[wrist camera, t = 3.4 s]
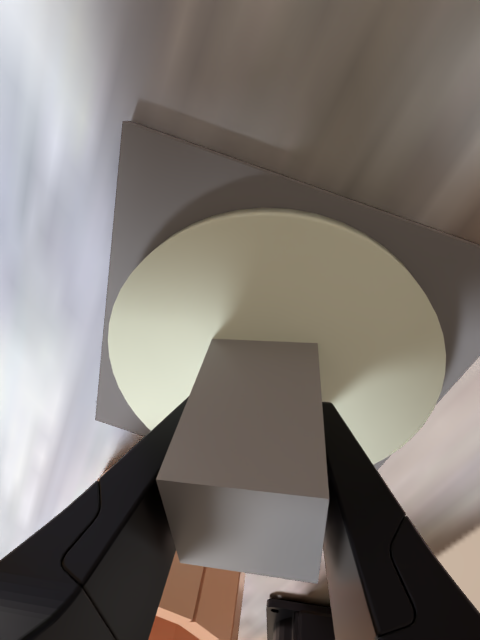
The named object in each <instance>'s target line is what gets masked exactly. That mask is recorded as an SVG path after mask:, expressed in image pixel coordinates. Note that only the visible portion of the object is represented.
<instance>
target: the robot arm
mask: <svg viewBox="0 0 480 640" xmlns="http://www.w3.org/2000/svg"><path fill="white" fill-rule="evenodd" d="M188 398H189V396H188V397H187V398H186V399H185V400H184V401H183V402H182V403H181V404H180V405H179V406H177V407H176V408H175V409H174V410H173V411H172V412H171V413H170V414H169V415H168V416H167V417H165V418H164V419H163V420H162V421H161V422H160V423H159V424H158V425H157V426H156V427H155V428H154V429H152V430H151V431H150V432H149V433H148V434H147V435H146V436H145V437H144V438H143V439H142V440H140V441H139V442H138V443H137V444H136V445H135V446H134V447H133V448H132V449H131V450H130V451H128V452H127V453H126V454H125V455H124V456H123V457H122V458H121V459H120V460H119V461H118V462H117V463H115V464H114V465H113V466H112V467H111V468H110V469H109V470H108V471H107V472H106V473H105V474H103V475H102V476H101V477H100V478H99V481H96V482H95V483H93V484H92V485H91V486H90V487H89V488H88V489H87V490H86V491H85V492H84V493H83V494H81V495H80V496H79V497H78V498H77V499H76V500H75V501H73V502H72V503H71V504H70V505H69V506H68V507H67V508H65V509H64V510H63V511H62V512H61V513H59V514H58V515H57V516H56V517H54V518H53V519H52V520H51V521H49V522H48V523H47V524H46V525H45V526H43V527H42V528H41V529H40V530H38V531H37V532H36V533H34V534H33V535H32V536H31V537H29V538H28V539H27V540H25V541H24V542H23V543H22V544H20V545H19V546H18V547H17V548H15V549H14V550H13V551H11V552H10V553H9V554H8V555H6V556H5V557H4V558H3V559H1V560H0V640H148V639H149V636H150V633H151V629H152V626H153V623H154V620H155V616H156V613H157V610H158V607H159V604H160V600H161V597H162V594H163V591H164V587H165V584H166V581H167V578H168V575H169V571H170V568H171V565H172V562H173V558H174V555H175V552H176V547H175V544H174V540H173V537H172V533H171V530H170V527H169V523H168V520H167V516H166V513H165V509H164V506H163V502H162V499H161V495H160V492H159V489H158V485H157V482H156V478H157V475H158V473H159V470H160V468H161V465H162V463H163V460H164V458H165V455H166V453H167V450H168V448H169V445H170V443H171V440H172V438H173V435H174V433H175V430H176V428H177V425H178V423H179V420H180V418H181V415H182V413H183V410H184V408H185V405H186V403H187V400H188ZM322 408H323V422H324V435H325V448H326V462H327V475H328V488H329V505H328V512H327V519H326V527H325V534H324V541H323V551H324V559H325V566H326V574H327V581H328V589H329V596H330V604H331V608H328V607H322V606H316V605H310V604H303V603H297V602H291V601H285V600H279V599H269V600H267V609H266V610H267V639H268V640H480V613H479V612H478V610H477V609H476V608H475V607H474V605H473V604H472V603H471V602H470V601H469V599H468V598H467V597H466V595H465V594H464V593H463V592H462V591H461V589H460V588H459V587H458V585H457V584H456V583H455V582H454V580H453V579H452V578H451V576H450V575H449V574H448V572H447V571H446V570H445V569H444V567H443V566H442V565H441V563H440V562H439V561H438V560H437V558H436V557H435V555H434V554H433V553H432V551H431V550H430V548H429V547H428V545H427V544H426V543H425V541H424V540H423V538H422V537H421V535H420V534H419V533H418V531H417V530H416V528H415V526H414V525H413V523H412V522H411V520H410V519H409V517H407V516H405V515H406V513H405V512H404V510H403V509H402V507H401V506H400V504H399V503H398V501H397V500H396V498H395V497H394V495H393V494H392V492H391V491H390V489H389V488H388V486H387V485H386V483H385V482H384V480H383V479H382V477H381V476H380V474H379V473H378V471H377V470H376V468H375V467H374V465H373V464H372V462H371V461H370V459H369V458H368V456H367V455H366V453H365V451H364V450H363V448H362V447H361V445H360V444H359V442H358V441H357V439H356V438H355V436H354V435H353V433H352V432H351V430H350V429H349V427H348V426H347V424H346V423H345V421H344V420H343V418H342V417H341V415H340V414H339V412H338V411H337V409H336V408H335V406H334V405H333V404H332V403H331V402H322Z"/></svg>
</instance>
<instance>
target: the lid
mask: <svg viewBox="0 0 480 640" xmlns="http://www.w3.org/2000/svg"><path fill="white" fill-rule="evenodd" d="M108 348H109V358H110V362H111V366H112V370H113V374H114V376H115V379H116V381H117V384H118V387H119V389H120V390H121V392H122V394H123V396H124V398H125V400H126V401H127V403H128V404H129V406H130V407H131V409H132V410H133V411H134V413H135V414H136V415H137V417H138V418H139V419H140V420H141V421H142V422H143V423H144V424H145V426H146V427H147V428H148V429H150V430H152V429H154V428H155V427H156V426H157V425H158V424H159V423H160V422H161V421H162V420H163V419H164V418H165V417H167V416H168V415H169V414H170V413H171V412H172V411H173V410H174V409H175V408H176V407H177V406H179V405H180V404H181V403H182V402H183V401H184V400H185V399H186V398H187V397H188V396H189V398H188V400H187V403H186V405H185V408H184V410H183V413H182V415H181V418H180V420H179V423H178V425H177V428H176V430H175V433H174V435H173V438H172V440H171V443H170V445H169V448H168V450H167V453H166V455H165V458H164V460H163V463H162V465H161V468H160V470H159V473H158V475H157V478H156V482H157V485H158V489H159V492H160V495H161V499H162V502H163V506H164V509H165V513H166V516H167V520H168V523H169V527H170V530H171V533H172V537H173V540H174V544H175V547H176V551H177V554H178V558H179V561H180V563H184V564H190V565H197V566H204V567H210V568H217V569H223V570H230V571H237V572H243V573H250V574H256V575H263V576H269V577H276V578H283V579H289V580H296V581H302V582H309V583H316V584H318V578H319V570H320V563H321V556H322V549H323V541H324V534H325V527H326V519H327V512H328V505H329V488H328V475H327V462H326V448H325V435H324V422H323V408H322V402H331V403H332V404H333V405H334V406H335V408H336V409H337V411H338V412H339V414H340V415H341V417H342V418H343V420H344V421H345V423H346V424H347V426H348V427H349V429H350V430H351V432H352V433H353V435H354V436H355V438H356V439H357V441H358V442H359V444H360V445H361V447H362V448H363V450H364V451H365V453H366V455H367V456H368V458H369V459H370V461H371V462H372V464H373V465H374V464H376V463H378V462H379V461H381V460H383V459H385V458H387V457H388V456H390V455H391V454H393V453H394V452H396V451H397V450H398V449H400V448H401V447H402V446H403V445H404V444H406V443H407V442H408V441H409V440H410V439H411V438H412V437H413V436H414V435H415V434H416V433H417V432H418V431H419V429H420V428H421V427H422V426H423V425H424V423H425V422H426V420H427V419H428V417H429V416H430V414H431V412H432V411H433V409H434V407H435V405H436V403H437V400H438V398H439V396H440V393H441V390H442V385H443V381H444V377H445V367H446V351H445V343H444V336H443V332H442V329H441V326H440V323H439V320H438V317H437V314H436V313H435V311H434V309H433V307H432V305H431V303H430V301H429V300H428V298H427V296H426V294H425V293H424V291H423V290H422V288H421V287H420V286H419V284H418V283H417V281H416V280H415V279H414V278H413V276H412V275H411V274H410V272H409V271H408V270H407V269H406V267H405V266H404V265H403V263H401V262H400V261H399V260H398V259H397V258H396V257H395V256H394V255H393V254H392V253H391V252H390V251H389V250H388V249H386V248H385V247H384V246H383V245H381V244H380V243H378V242H377V241H375V240H374V239H372V238H371V237H369V236H368V235H366V234H365V233H363V232H361V231H359V230H357V229H355V228H353V227H351V226H349V225H347V224H345V223H343V222H340V221H337V220H334V219H331V218H328V217H325V216H322V215H319V214H316V213H310V212H305V211H300V210H294V209H284V208H253V209H242V210H235V211H231V212H227V213H222V214H218V215H214V216H211V217H209V218H206V219H203V220H201V221H198V222H196V223H193V224H191V225H189V226H187V227H186V228H184V229H182V230H180V231H179V232H177V233H175V234H173V235H172V236H171V237H169V238H168V239H167V240H166V241H164V242H163V243H162V244H160V245H159V246H158V247H157V248H155V249H154V250H153V251H152V252H151V253H150V254H149V255H148V256H147V257H146V258H145V259H144V260H143V261H142V262H141V263H140V264H139V265H138V266H137V267H136V268H135V269H134V270H133V272H132V273H131V274H130V276H129V277H128V279H127V280H126V282H125V283H124V285H123V286H122V288H121V289H120V292H119V294H118V296H117V299H116V301H115V303H114V306H113V309H112V313H111V317H110V321H109V331H108Z"/></svg>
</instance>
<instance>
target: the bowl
mask: <svg viewBox="0 0 480 640" xmlns="http://www.w3.org/2000/svg"><path fill="white" fill-rule="evenodd" d="M110 468H111V467H110ZM110 468H108V469H107V470H106V471H105V472H104V473H103V474H105V473H106V472H107V471H108V470H109V469H110ZM103 474H102V475H103ZM102 475H101V476H102ZM97 481H99V478H98V480H97ZM244 582H245V573H243V572H237V571H230V570H223V569H217V568H210V567H204V566H197V565H190V564H184V563H180V561H179V558H178V554H177V551H176V552H175V555H174V558H173V562H172V565H171V568H170V571H169V575H168V578H167V581H166V584H165V587H164V591H163V594H162V597H161V600H160V604H159V607H158V610H157V613H156V616H155V620H154V623H153V626H152V629H151V633H150V636H149V639H148V640H238V631H239V623H240V615H241V607H242V598H243V590H244Z"/></svg>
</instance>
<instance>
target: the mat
mask: <svg viewBox="0 0 480 640" xmlns="http://www.w3.org/2000/svg"><path fill="white" fill-rule="evenodd" d="M253 208H284V209H294V210H300V211H305V212H310V213H316V214H319V215H322V216H325V217H328V218H331V219H334V220H337V221H340V222H343V223H345V224H347V225H349V226H351V227H353V228H355V229H357V230H359V231H361V232H363V233H365V234H366V235H368V236H369V237H371V238H372V239H374V240H375V241H377V242H378V243H380V244H381V245H383V246H384V247H385V248H386V249H388V250H389V251H390V252H391V253H392V254H393V255H394V256H395V257H396V258H397V259H398V260H399V261H400V262H401V263H403V265H404V266H405V267H406V269H407V270H408V271H409V272H410V274H411V275H412V276H413V278H414V279H415V280H416V281H417V283H418V284H419V286H420V287H421V288H422V290H423V291H424V293H425V294H426V296H427V298H428V300H429V301H430V303H431V305H432V307H433V309H434V311H435V313H436V314H437V317H438V320H439V323H440V326H441V329H442V332H443V336H444V343H445V351H446V367H445V377H444V381H443V385H442V390H441V393H440V396H439V398H438V400H437V403H438V402H439V401H440V400H441V399H442V398H443V396H444V395H445V394H446V393H447V392H448V391H449V390H450V389H451V387H452V386H453V385H454V384H455V383H456V382H457V381H458V380H459V379H460V377H461V376H462V375H463V374H464V373H465V372H466V371H467V370H468V368H469V367H470V366H471V365H472V364H473V363H474V362H475V361H476V360H477V358H478V357H479V356H480V245H478V244H476V243H473V242H470V241H467V240H464V239H461V238H459V237H456V236H453V235H450V234H447V233H445V232H442V231H439V230H436V229H433V228H430V227H428V226H425V225H422V224H419V223H416V222H413V221H411V220H408V219H405V218H402V217H399V216H397V215H394V214H391V213H388V212H385V211H382V210H380V209H377V208H374V207H371V206H368V205H365V204H363V203H360V202H357V201H354V200H351V199H348V198H346V197H343V196H340V195H337V194H334V193H332V192H329V191H326V190H323V189H320V188H317V187H315V186H312V185H309V184H306V183H303V182H300V181H298V180H295V179H292V178H289V177H286V176H284V175H281V174H278V173H275V172H272V171H269V170H267V169H264V168H261V167H258V166H255V165H252V164H250V163H247V162H244V161H241V160H238V159H236V158H233V157H230V156H227V155H224V154H221V153H219V152H216V151H213V150H210V149H207V148H204V147H202V146H199V145H196V144H193V143H190V142H188V141H185V140H182V139H179V138H176V137H173V136H171V135H168V134H165V133H162V132H159V131H156V130H154V129H151V128H148V127H145V126H142V125H140V124H137V123H134V122H131V121H123V124H122V135H121V145H120V156H119V167H118V178H117V189H116V200H115V211H114V221H113V232H112V243H111V254H110V265H109V276H108V287H107V298H106V308H105V319H104V330H103V341H102V352H101V363H100V374H99V385H98V395H97V406H96V417H95V420H97V421H100V422H103V423H106V424H109V425H112V426H115V427H118V428H121V429H124V430H127V431H130V432H133V433H136V434H139V435H142V436H146V435H147V434H148V433H149V432H150V431H151V430H150V429H148V428H147V427H146V426H145V424H144V423H143V422H142V421H141V420H140V419H139V418H138V417H137V415H136V414H135V413H134V411H133V410H132V409H131V407H130V406H129V404H128V403H127V401H126V400H125V398H124V396H123V394H122V392H121V390H120V389H119V387H118V384H117V381H116V379H115V376H114V374H113V370H112V366H111V362H110V358H109V348H108V331H109V321H110V317H111V313H112V309H113V306H114V303H115V301H116V299H117V296H118V294H119V292H120V289H121V288H122V286H123V285H124V283H125V282H126V280H127V279H128V277H129V276H130V274H131V273H132V272H133V270H134V269H135V268H136V267H137V266H138V265H139V264H140V263H141V262H142V261H143V260H144V259H145V258H146V257H147V256H148V255H149V254H150V253H151V252H152V251H153V250H154V249H155V248H157V247H158V246H159V245H160V244H162V243H163V242H164V241H166V240H167V239H168V238H169V237H171V236H172V235H173V234H175V233H177V232H179V231H180V230H182V229H184V228H186V227H187V226H189V225H191V224H193V223H196V222H198V221H201V220H203V219H206V218H209V217H211V216H214V215H218V214H222V213H227V212H231V211H235V210H242V209H253ZM437 403H436V404H437ZM390 456H391V455H390ZM390 456H388V457H387V458H385V459H383V460H381V461H379V462H378V463H376V464H374V467H375V468H376V470H378V469H379V468H380V467H381V466H382V465H383V463H384V462H385V461H386V460H387V459H388V458H389V457H390Z"/></svg>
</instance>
